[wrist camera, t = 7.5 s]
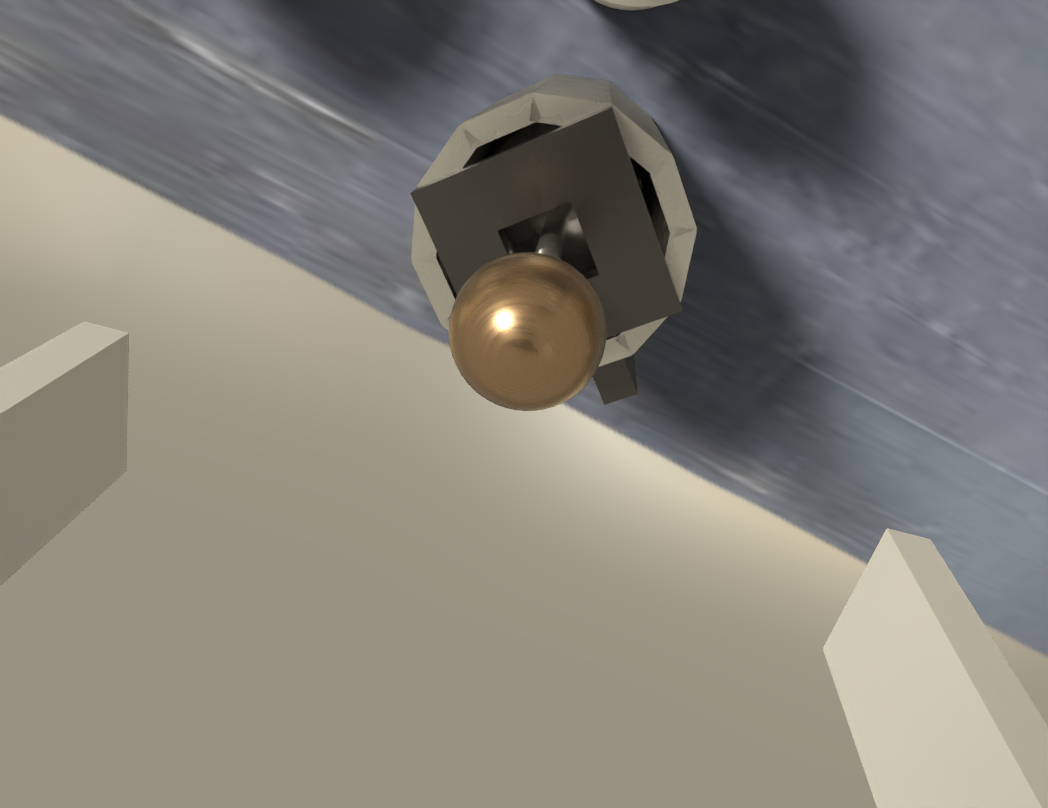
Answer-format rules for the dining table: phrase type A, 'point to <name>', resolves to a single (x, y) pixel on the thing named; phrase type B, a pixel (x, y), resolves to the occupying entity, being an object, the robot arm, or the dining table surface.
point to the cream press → (634, 4)
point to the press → (550, 181)
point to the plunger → (532, 311)
